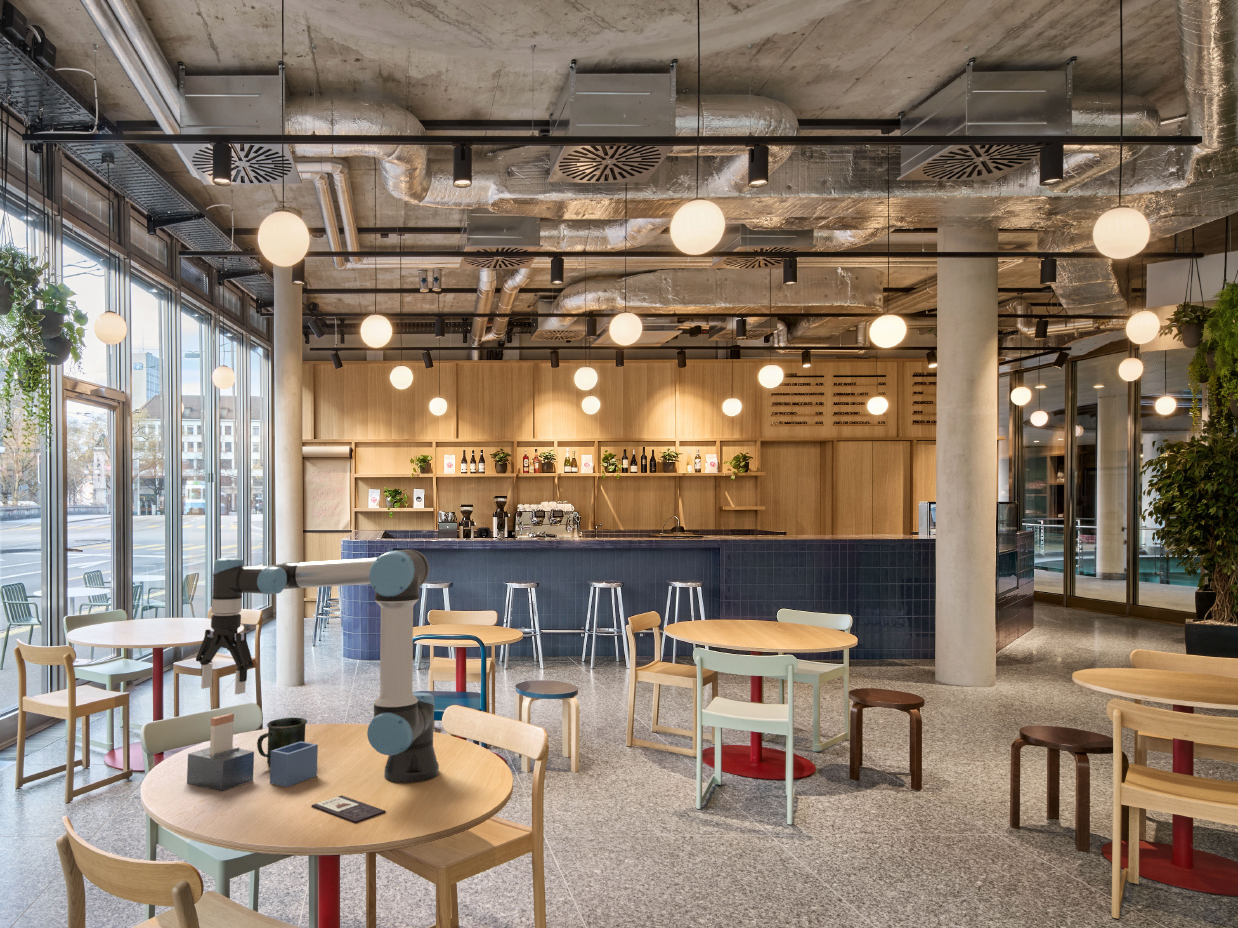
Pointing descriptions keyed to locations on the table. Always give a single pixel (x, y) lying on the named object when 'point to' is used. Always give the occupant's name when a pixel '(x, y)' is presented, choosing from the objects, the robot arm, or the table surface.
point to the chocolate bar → (348, 809)
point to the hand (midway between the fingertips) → (222, 690)
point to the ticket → (221, 733)
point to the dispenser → (220, 768)
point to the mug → (282, 734)
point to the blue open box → (293, 763)
